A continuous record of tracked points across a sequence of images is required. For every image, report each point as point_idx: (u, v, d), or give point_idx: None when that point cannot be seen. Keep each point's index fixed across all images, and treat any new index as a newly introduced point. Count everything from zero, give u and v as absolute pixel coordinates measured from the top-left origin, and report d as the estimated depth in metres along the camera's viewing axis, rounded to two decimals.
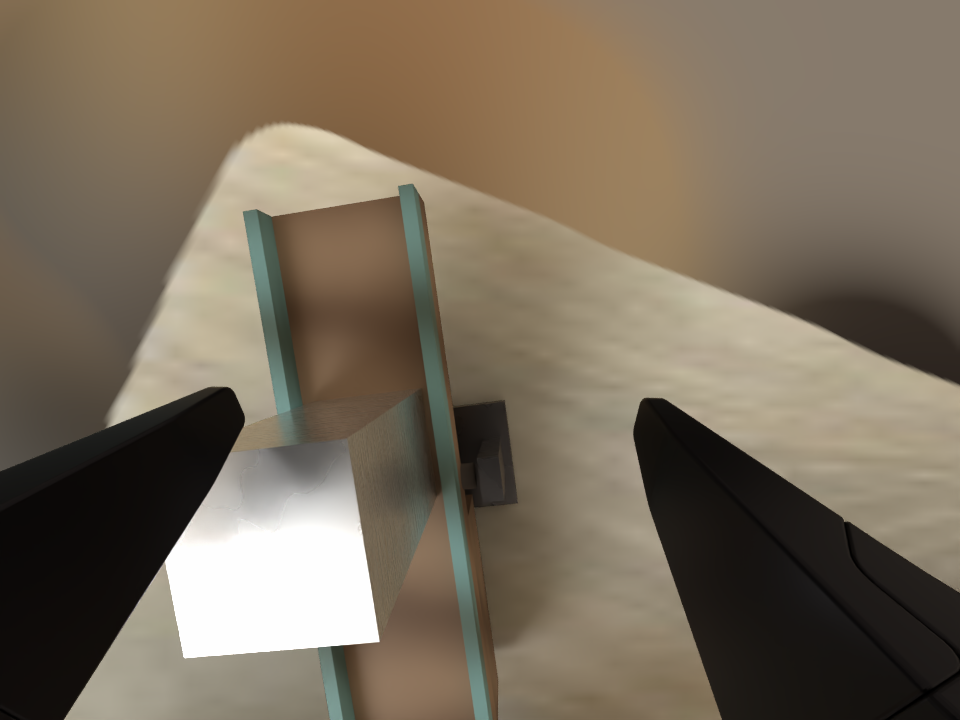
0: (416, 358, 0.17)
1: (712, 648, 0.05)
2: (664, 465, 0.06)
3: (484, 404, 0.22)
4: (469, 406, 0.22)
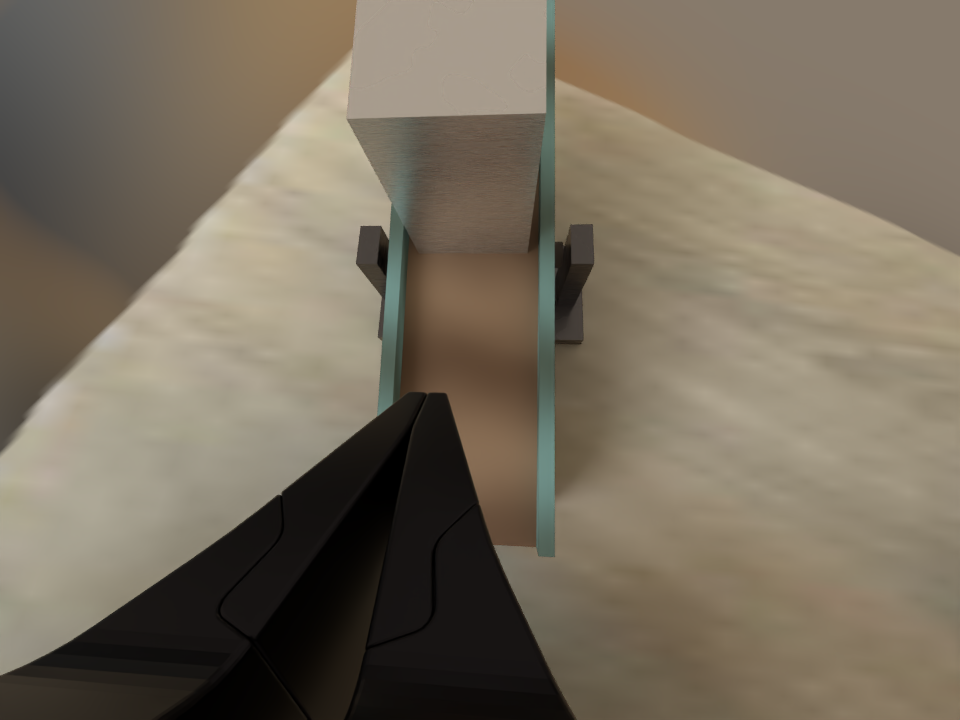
0: None
1: None
2: None
3: None
4: None
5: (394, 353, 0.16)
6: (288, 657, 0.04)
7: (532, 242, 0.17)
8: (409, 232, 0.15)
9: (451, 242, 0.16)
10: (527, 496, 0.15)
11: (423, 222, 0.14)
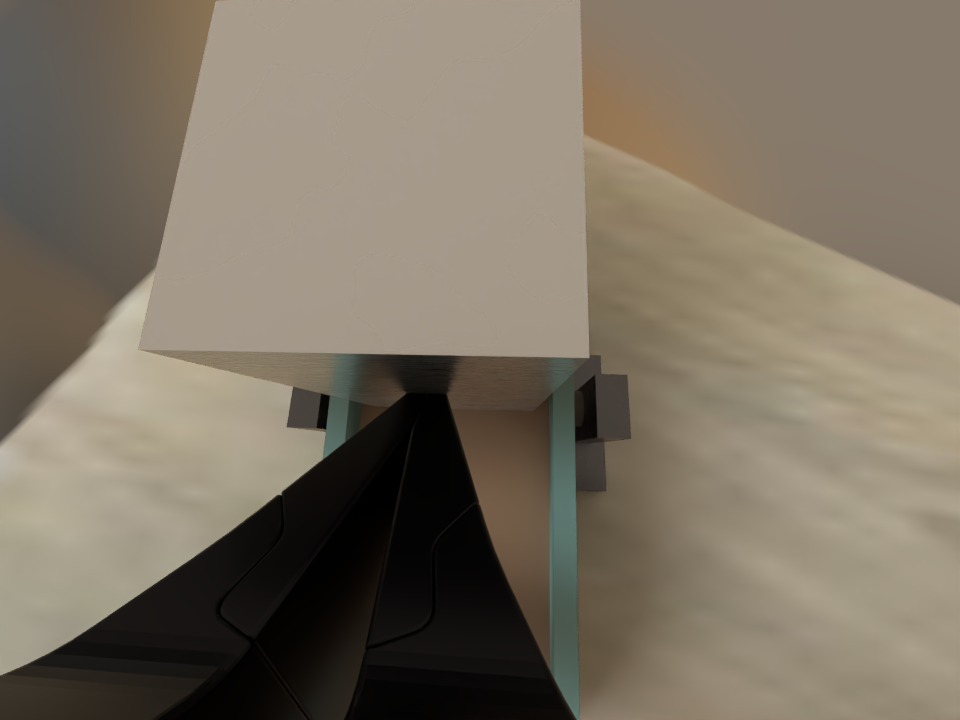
0: None
1: None
2: None
3: None
4: None
5: None
6: (289, 658, 0.04)
7: None
8: (354, 400, 0.10)
9: None
10: None
11: (371, 398, 0.09)
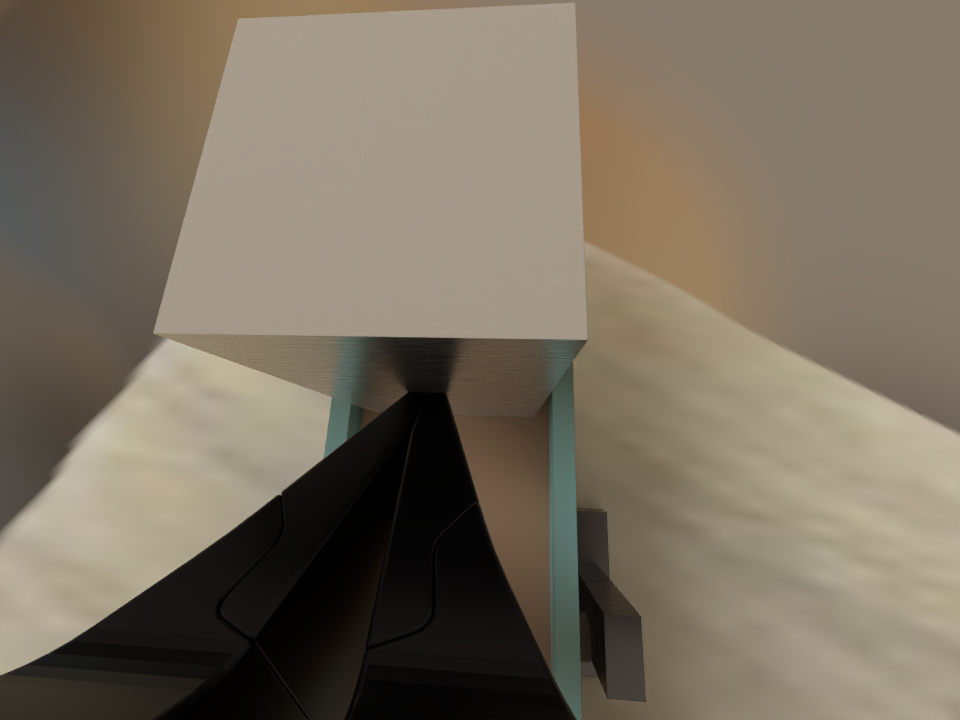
0: (532, 429, 0.12)
1: None
2: None
3: (577, 511, 0.16)
4: None
5: None
6: (289, 658, 0.04)
7: (541, 650, 0.10)
8: (355, 404, 0.10)
9: None
10: None
11: (373, 400, 0.09)
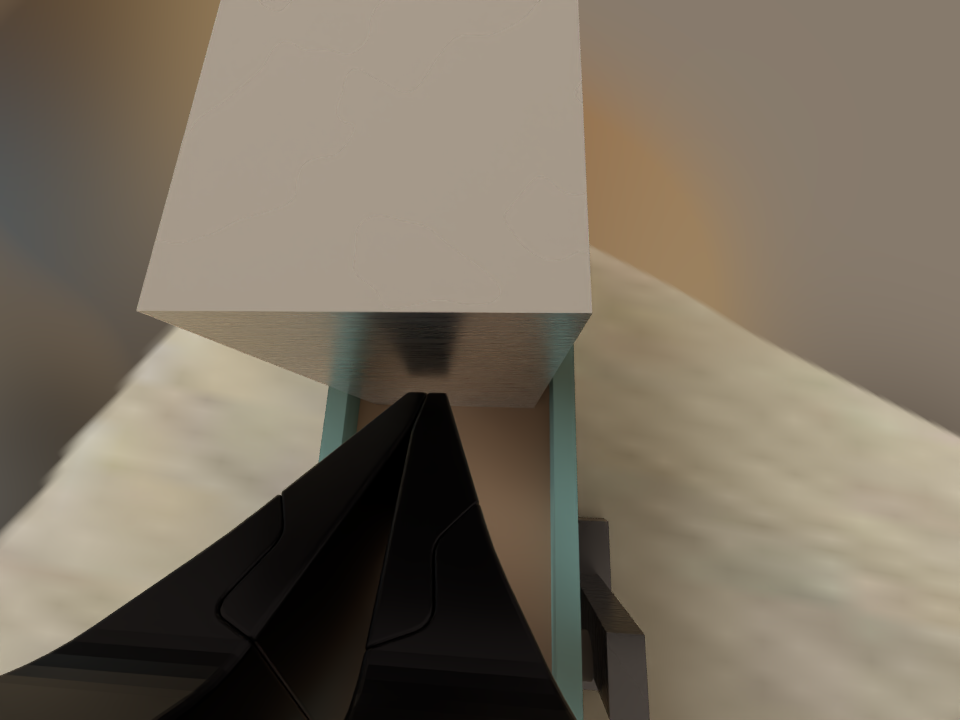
0: (532, 440, 0.11)
1: None
2: None
3: (578, 520, 0.16)
4: None
5: None
6: (288, 658, 0.04)
7: None
8: (353, 394, 0.10)
9: None
10: None
11: (371, 389, 0.09)
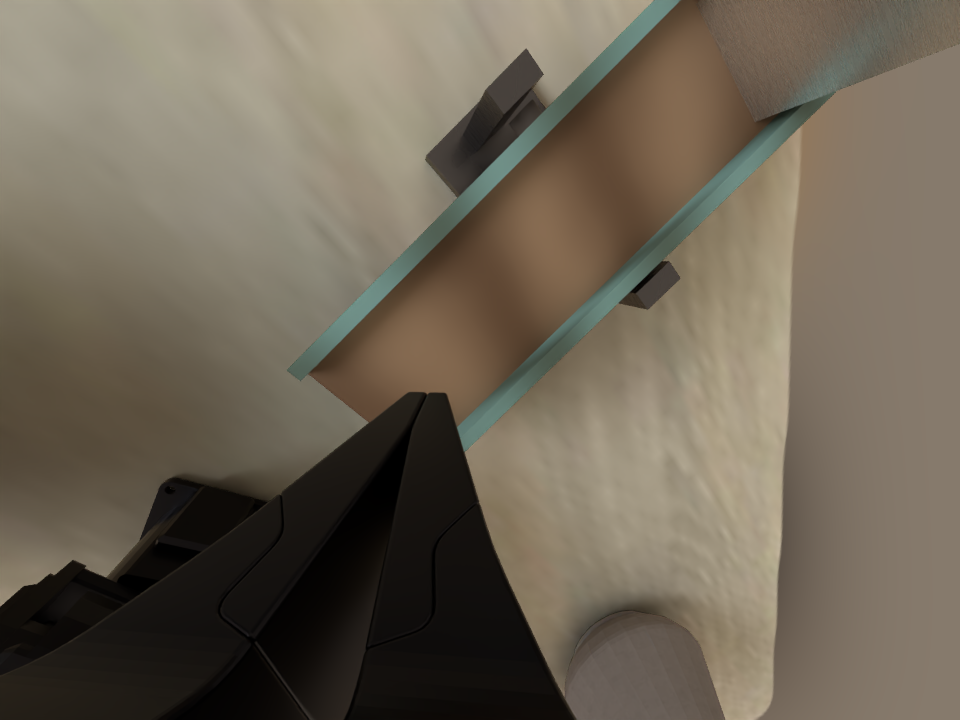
0: (736, 138, 0.15)
1: None
2: None
3: None
4: None
5: (451, 227, 0.13)
6: (289, 658, 0.04)
7: (635, 245, 0.16)
8: None
9: (742, 29, 0.13)
10: None
11: None
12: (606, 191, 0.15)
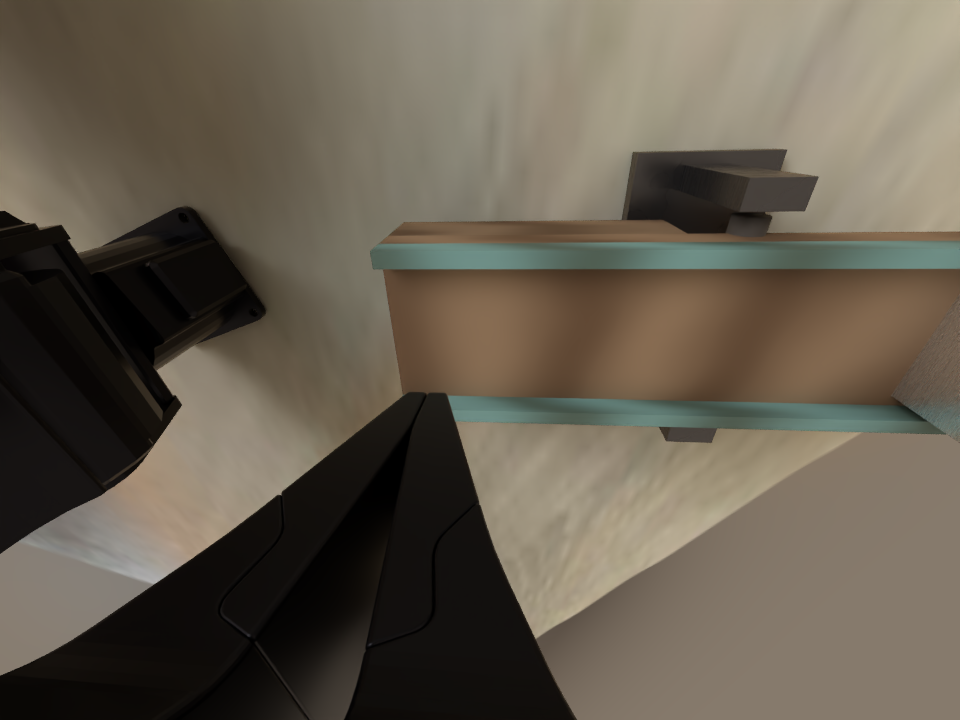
0: (865, 394, 0.15)
1: None
2: None
3: None
4: None
5: (604, 267, 0.12)
6: (289, 658, 0.04)
7: (710, 396, 0.16)
8: None
9: None
10: (445, 388, 0.16)
11: None
12: (738, 342, 0.14)
